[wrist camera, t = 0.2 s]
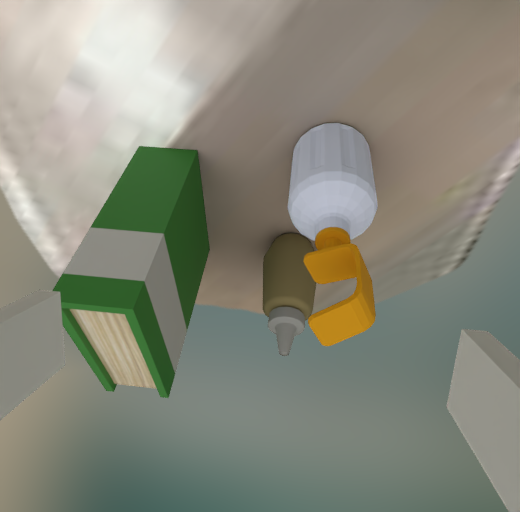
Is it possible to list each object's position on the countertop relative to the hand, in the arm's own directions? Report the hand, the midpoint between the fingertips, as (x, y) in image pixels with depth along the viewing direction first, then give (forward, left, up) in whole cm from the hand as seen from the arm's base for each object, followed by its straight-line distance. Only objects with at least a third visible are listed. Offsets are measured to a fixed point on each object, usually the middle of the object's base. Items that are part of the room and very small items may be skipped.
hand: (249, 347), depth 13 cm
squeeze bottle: (+27, -14, -35) cm, 46 cm away
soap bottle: (+15, -3, -35) cm, 38 cm away
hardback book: (+13, -25, -35) cm, 45 cm away
